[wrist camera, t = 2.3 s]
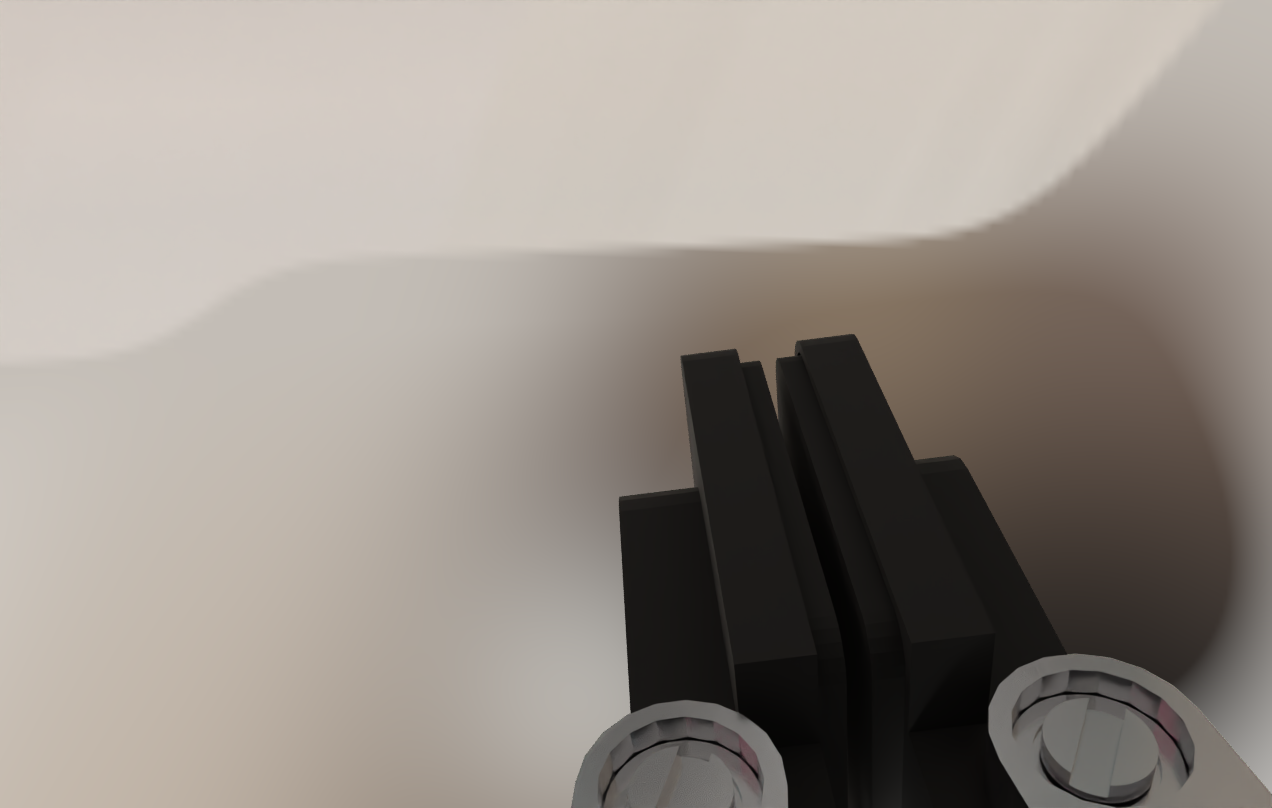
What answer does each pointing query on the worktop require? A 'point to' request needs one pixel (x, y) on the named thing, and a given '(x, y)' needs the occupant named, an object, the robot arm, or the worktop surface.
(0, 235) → the worktop surface
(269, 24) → the worktop surface
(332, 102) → the worktop surface
